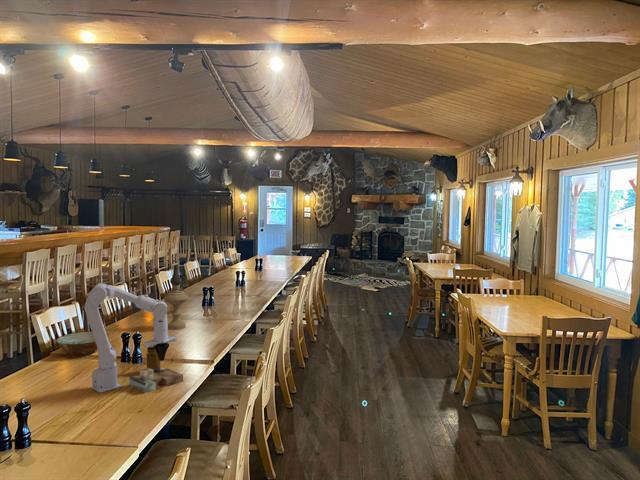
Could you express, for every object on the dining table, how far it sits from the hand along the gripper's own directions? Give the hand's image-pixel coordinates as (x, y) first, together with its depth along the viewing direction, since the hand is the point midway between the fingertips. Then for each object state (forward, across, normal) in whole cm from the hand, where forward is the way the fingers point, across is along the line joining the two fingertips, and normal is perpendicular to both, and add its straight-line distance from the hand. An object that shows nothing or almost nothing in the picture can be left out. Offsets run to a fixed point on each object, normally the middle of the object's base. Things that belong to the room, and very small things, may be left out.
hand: (161, 360), depth 210 cm
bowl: (+10, -5, +71) cm, 72 cm away
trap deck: (+10, -3, 0) cm, 10 cm away
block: (+7, -7, 0) cm, 10 cm away
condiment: (+10, +5, +15) cm, 19 cm away
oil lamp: (+10, +57, +81) cm, 100 cm away
